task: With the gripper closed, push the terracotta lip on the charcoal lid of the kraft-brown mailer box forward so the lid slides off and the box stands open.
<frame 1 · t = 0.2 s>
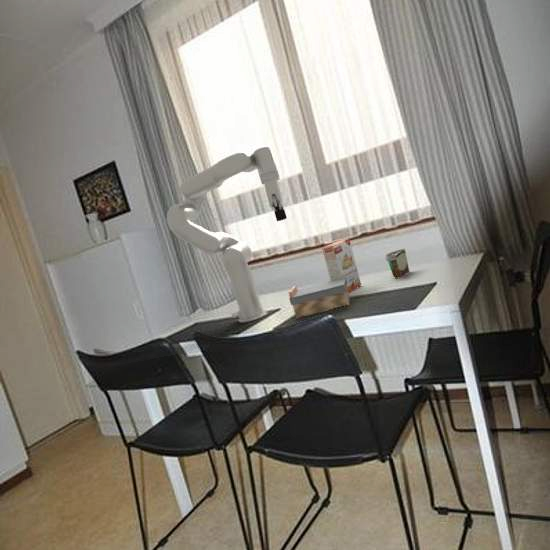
hand: (282, 219, 186), 36 cm above the table, tool pointing down, fingers open, 9 cm apart
cracker box: (349, 291, 193), on the table
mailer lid: (318, 288, 176), point 8 cm above the table, slide at 0.0 cm
mailer box: (323, 307, 177), on the table
food container: (398, 276, 194), on the table
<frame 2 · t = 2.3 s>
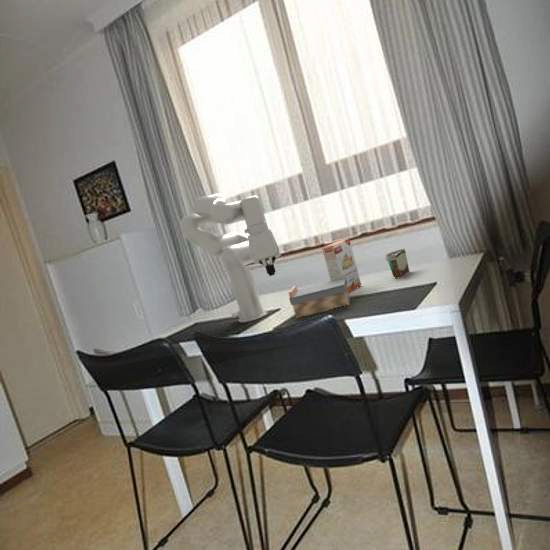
hand: (272, 275, 178), 17 cm above the table, tool pointing down, fingers closed
nothing on the table moved.
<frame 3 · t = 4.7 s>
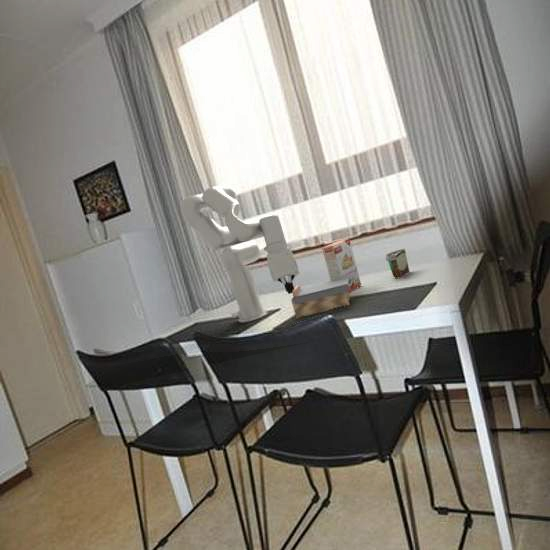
hand: (291, 292, 178), 9 cm above the table, tool pointing down, fingers closed
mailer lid: (321, 287, 175), point 8 cm above the table, slide at 1.4 cm, touching gripper
everything else where it was.
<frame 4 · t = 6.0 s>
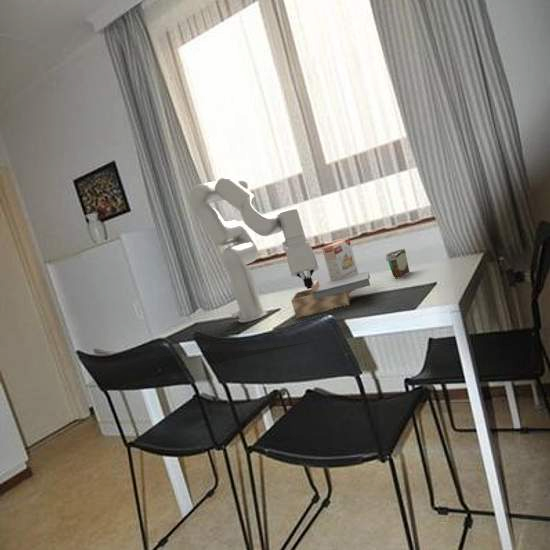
hand: (309, 287, 176), 9 cm above the table, tool pointing down, fingers closed
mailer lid: (341, 282, 174), point 8 cm above the table, slide at 8.9 cm, touching gripper
everything else where it was.
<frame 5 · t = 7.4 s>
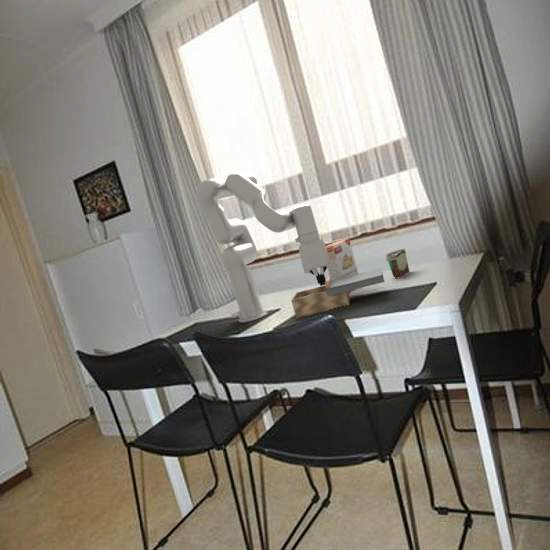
hand: (322, 284, 175), 9 cm above the table, tool pointing down, fingers closed
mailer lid: (354, 279, 173), point 8 cm above the table, slide at 14.0 cm, touching gripper
everything else where it was.
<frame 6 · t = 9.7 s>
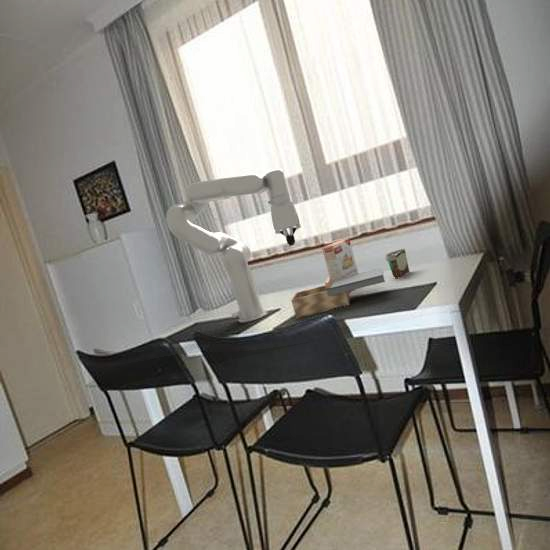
hand: (292, 245, 189), 25 cm above the table, tool pointing down, fingers closed
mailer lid: (354, 279, 173), point 8 cm above the table, slide at 14.0 cm
everything else where it was.
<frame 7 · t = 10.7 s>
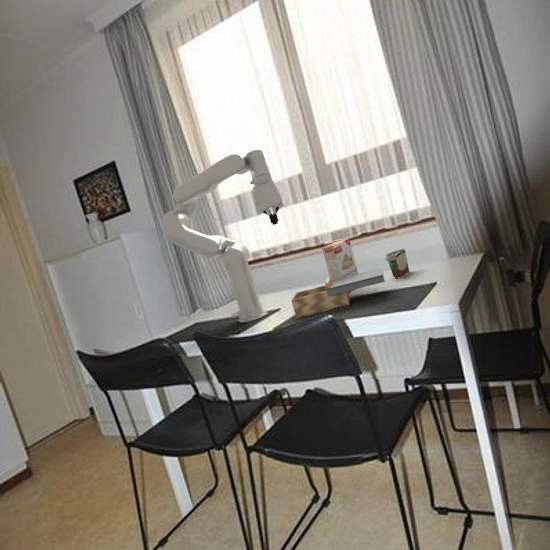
hand: (275, 224, 190), 35 cm above the table, tool pointing down, fingers closed
nothing on the table moved.
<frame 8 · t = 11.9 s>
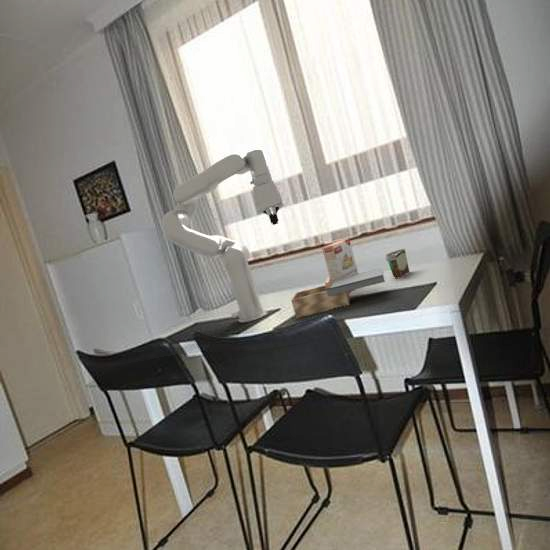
hand: (275, 224, 190), 35 cm above the table, tool pointing down, fingers closed
nothing on the table moved.
at the end: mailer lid slide at 14.0 cm; cracker box moved 0.2 cm from its start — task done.
